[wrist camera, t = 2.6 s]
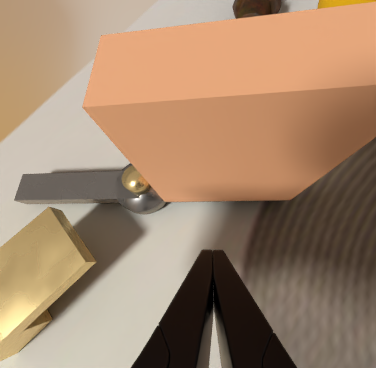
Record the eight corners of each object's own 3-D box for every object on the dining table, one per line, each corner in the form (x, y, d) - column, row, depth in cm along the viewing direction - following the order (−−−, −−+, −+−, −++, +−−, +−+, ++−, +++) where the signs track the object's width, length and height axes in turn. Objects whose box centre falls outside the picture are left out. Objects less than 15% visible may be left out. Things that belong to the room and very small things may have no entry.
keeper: (81, 216, 17) (49, 206, 14) (113, 261, 15) (85, 262, 12) (-8, 294, 16) (-68, 304, 12) (17, 352, 14) (-45, 383, 11)
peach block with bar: (285, 213, 15) (470, 103, 4) (23, 214, 17) (-271, 150, 7) (277, 160, 16) (396, -17, 6) (37, 169, 19) (-184, 59, 8)
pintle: (151, 194, 15) (146, 189, 14) (126, 195, 15) (119, 190, 14) (153, 170, 16) (149, 164, 14) (130, 171, 16) (123, 165, 15)
